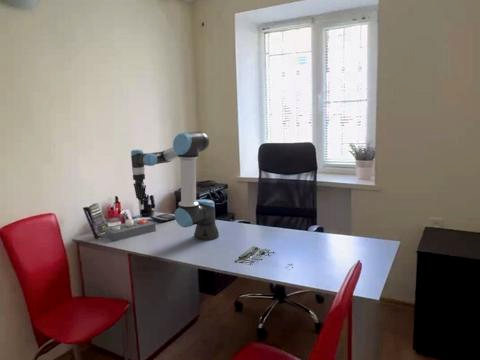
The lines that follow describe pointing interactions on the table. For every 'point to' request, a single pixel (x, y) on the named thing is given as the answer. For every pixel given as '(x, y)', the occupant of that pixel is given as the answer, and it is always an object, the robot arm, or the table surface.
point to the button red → (142, 222)
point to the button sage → (115, 228)
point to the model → (252, 252)
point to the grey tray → (129, 230)
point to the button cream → (129, 223)
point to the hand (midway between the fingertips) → (141, 209)
